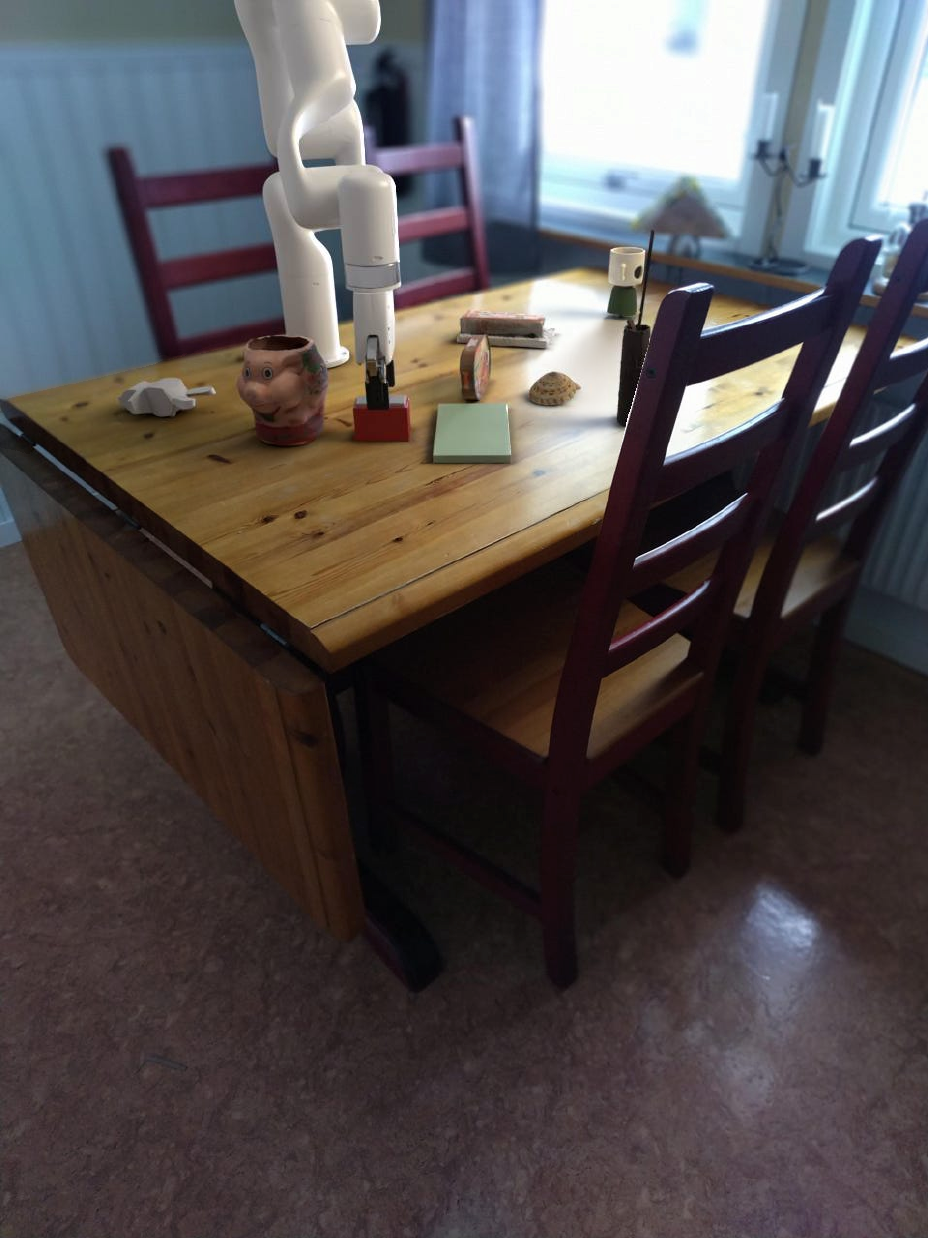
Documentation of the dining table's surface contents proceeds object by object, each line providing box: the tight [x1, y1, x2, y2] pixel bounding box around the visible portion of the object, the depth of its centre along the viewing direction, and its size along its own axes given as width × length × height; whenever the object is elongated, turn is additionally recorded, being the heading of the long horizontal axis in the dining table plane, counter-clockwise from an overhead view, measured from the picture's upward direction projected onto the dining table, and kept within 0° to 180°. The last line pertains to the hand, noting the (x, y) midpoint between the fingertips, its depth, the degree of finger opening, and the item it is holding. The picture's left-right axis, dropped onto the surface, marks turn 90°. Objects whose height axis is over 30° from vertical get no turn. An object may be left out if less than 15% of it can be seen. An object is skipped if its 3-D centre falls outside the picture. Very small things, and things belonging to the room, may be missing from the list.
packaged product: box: [456, 309, 556, 349], centre depth 166 cm, size 18×5×10 cm
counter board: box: [432, 403, 512, 464], centre depth 128 cm, size 11×20×1 cm, turn 179°
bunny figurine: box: [117, 377, 217, 418], centre depth 136 cm, size 10×5×15 cm
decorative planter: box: [236, 334, 330, 446], centre depth 127 cm, size 20×12×14 cm, turn 168°
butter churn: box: [616, 229, 655, 428], centre depth 125 cm, size 9×10×28 cm
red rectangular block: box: [352, 395, 412, 442], centre depth 127 cm, size 4×8×6 cm, turn 89°
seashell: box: [527, 371, 582, 406], centre depth 141 cm, size 8×6×8 cm
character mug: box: [606, 246, 646, 318], centre depth 177 cm, size 11×7×13 cm, turn 161°
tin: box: [459, 334, 492, 401], centre depth 142 cm, size 15×3×8 cm, turn 168°
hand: (381, 397), depth 125 cm, fingers open, 9 cm apart
